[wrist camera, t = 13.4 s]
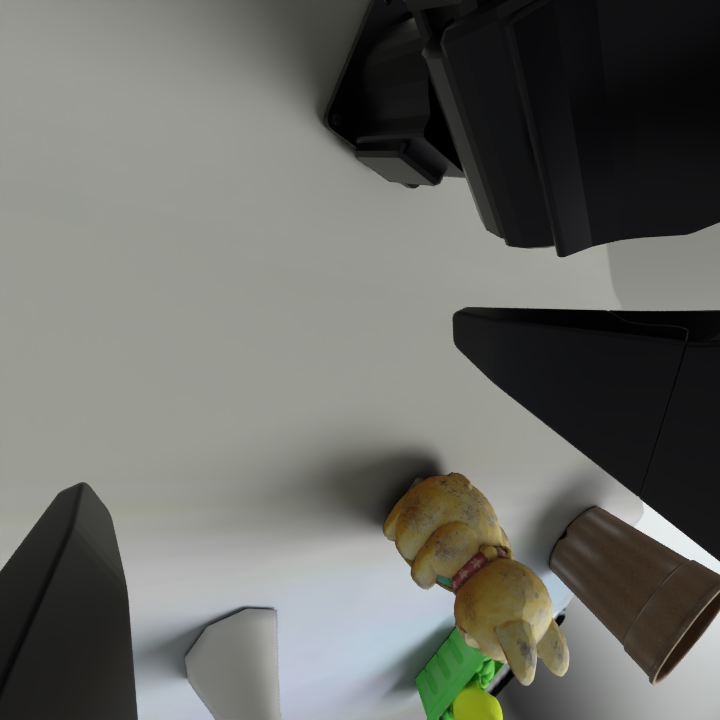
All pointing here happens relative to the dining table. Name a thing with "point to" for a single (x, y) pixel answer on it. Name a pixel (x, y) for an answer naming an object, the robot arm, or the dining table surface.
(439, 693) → the fruit basket
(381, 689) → the dining table surface
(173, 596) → the dining table surface
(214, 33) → the dining table surface
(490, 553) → the decorative figurine
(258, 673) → the flask
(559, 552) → the plant pot
